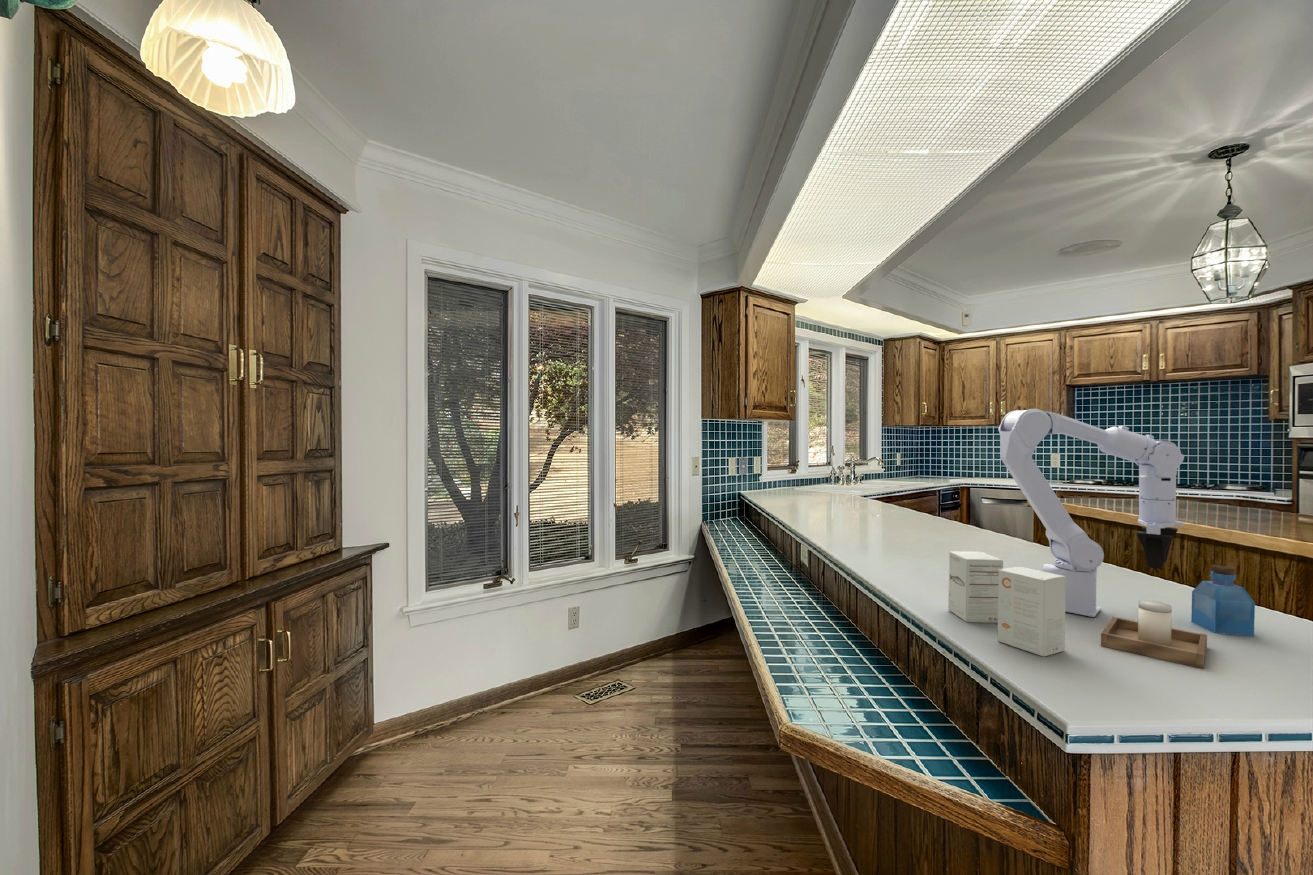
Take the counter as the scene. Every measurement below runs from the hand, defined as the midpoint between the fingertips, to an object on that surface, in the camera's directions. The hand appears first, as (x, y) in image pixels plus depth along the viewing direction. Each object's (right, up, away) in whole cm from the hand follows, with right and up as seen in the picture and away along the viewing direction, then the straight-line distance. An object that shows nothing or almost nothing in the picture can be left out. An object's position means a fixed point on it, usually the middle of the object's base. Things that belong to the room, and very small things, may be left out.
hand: (1157, 564), depth 117 cm
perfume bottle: (+6, -11, -8) cm, 14 cm away
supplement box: (-39, -10, -2) cm, 40 cm away
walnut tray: (-16, -11, -17) cm, 25 cm away
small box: (-38, -11, -17) cm, 43 cm away
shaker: (-16, -10, -17) cm, 25 cm away
